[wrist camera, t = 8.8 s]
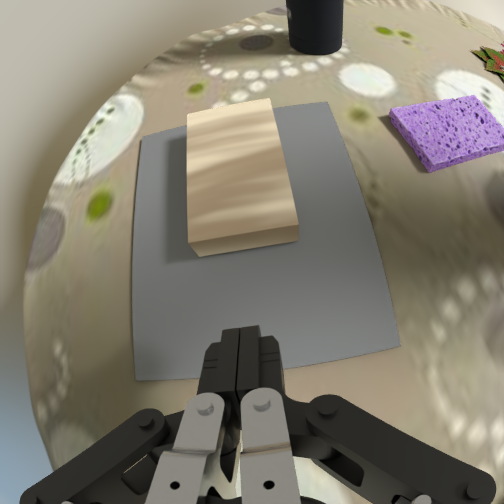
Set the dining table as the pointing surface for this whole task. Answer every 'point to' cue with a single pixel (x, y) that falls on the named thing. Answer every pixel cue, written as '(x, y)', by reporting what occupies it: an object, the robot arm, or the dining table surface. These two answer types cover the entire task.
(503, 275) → the dining table surface
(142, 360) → the rubber mat
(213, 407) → the robot arm
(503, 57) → the green leafy rosette
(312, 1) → the black water bottle
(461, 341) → the dining table surface
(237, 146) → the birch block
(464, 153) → the sponges
